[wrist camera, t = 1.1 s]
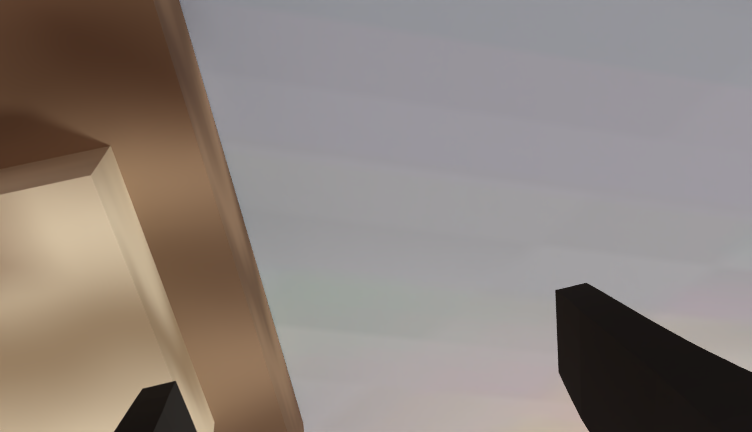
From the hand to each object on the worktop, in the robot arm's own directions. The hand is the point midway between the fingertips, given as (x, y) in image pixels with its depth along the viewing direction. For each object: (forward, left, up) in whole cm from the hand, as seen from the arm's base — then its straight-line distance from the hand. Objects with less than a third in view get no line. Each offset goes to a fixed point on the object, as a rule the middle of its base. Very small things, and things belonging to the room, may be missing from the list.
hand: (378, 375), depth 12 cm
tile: (-1, +8, -6) cm, 10 cm away
